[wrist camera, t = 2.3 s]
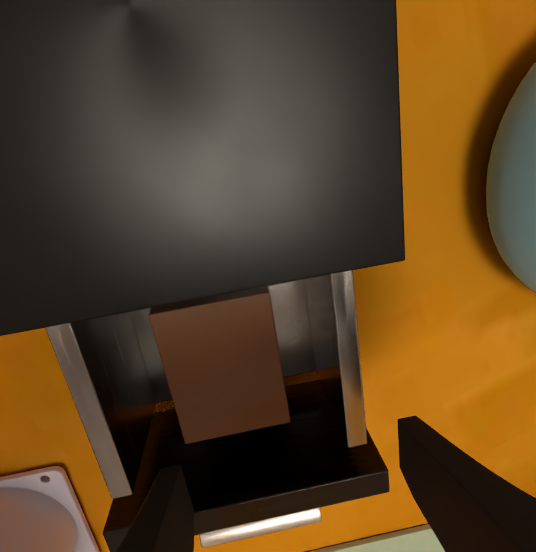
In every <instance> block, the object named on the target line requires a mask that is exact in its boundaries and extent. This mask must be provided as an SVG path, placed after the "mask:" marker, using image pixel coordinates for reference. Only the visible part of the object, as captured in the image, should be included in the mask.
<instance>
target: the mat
mask: <svg viewBox="0 0 536 552" xmlns="http://www.w3.org/2000/svg"><path fill="white" fill-rule="evenodd" d="M309 552H445V550H444V549H443V547H442V545H441V544H440V542H439V540H438V539H437V537H436V535H435V534H434V532H433V530H432V528H431V527H430V525H429V524H426V525H422V526H417V527H413V528H409V529H404V530H400V531H396V532H391V533H387V534H383V535H378V536H374V537H370V538H365V539H361V540H357V541H352V542H348V543H343V544H339V545H335V546H330V547H326V548H322V549H317V550H313V551H309Z"/></svg>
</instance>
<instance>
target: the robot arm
mask: <svg viewBox="0 0 536 552" xmlns="http://www.w3.org/2000/svg"><path fill="white" fill-rule="evenodd" d="M398 437H399V460H400V469H401V471H402V473H403V475H404V478H405V480H406V482H407V484H408V487H409V489H410V491H411V493H412V495H413V497H414V499H415V501H416V503H417V505H418V506H419V508H420V510H421V511H422V513H423V515H424V517H425V518H426V520H427V522H428V523H429V525H430V527H431V528H432V530H433V532H434V534H435V535H436V537H437V539H438V540H439V542H440V544H441V545H442V547H443V549H444V550H445V552H536V498H534V497H532V496H531V495H529V494H527V493H525V492H524V491H522V490H520V489H519V488H517V487H515V486H514V485H512V484H510V483H509V482H507V481H506V480H504V479H503V478H501V477H499V476H498V475H496V474H495V473H493V472H492V471H490V470H489V469H487V468H486V467H484V466H483V465H481V464H480V463H479V462H477V461H476V460H474V459H473V458H471V457H470V456H469V455H467V454H466V453H464V452H463V451H462V450H460V449H459V448H458V447H456V446H455V445H454V444H452V443H451V442H450V441H448V440H447V439H446V438H444V437H443V436H442V435H440V434H439V433H438V432H436V431H435V430H434V429H432V428H431V427H430V426H429V425H427V424H426V423H425V422H423V421H422V420H421V419H419V418H418V417H417V416H411V417H406V418H402V419H398ZM45 476H48V477H45ZM193 550H194V509H193V506H192V503H191V499H190V496H189V492H188V489H187V485H186V482H185V478H184V475H183V472H182V468H181V465H175V466H171V467H166V468H161V470H160V471H159V472H158V474H157V477H156V479H155V481H154V483H153V485H152V487H151V489H150V491H149V493H148V495H147V497H146V499H145V500H144V502H143V504H142V506H141V508H140V510H139V512H138V514H137V515H136V517H135V519H134V521H133V523H132V525H131V526H130V528H129V530H128V532H127V534H126V535H125V537H124V539H123V540H122V542H121V544H120V545H119V547H118V549H117V550H116V552H193ZM0 552H100V551H99V548H98V546H97V544H96V541H95V539H94V537H93V534H92V532H91V530H90V527H89V525H88V523H87V520H86V518H85V516H84V514H83V511H82V509H81V507H80V504H79V502H78V500H77V497H76V495H75V493H74V490H73V488H72V486H71V483H70V481H69V479H68V476H67V474H66V472H65V470H64V469H63V468H62V467H60V466H51V467H46V468H42V469H37V470H32V471H27V472H22V473H18V474H13V475H8V476H3V477H0Z"/></svg>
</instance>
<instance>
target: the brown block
mask: <svg viewBox="0 0 536 552" xmlns="http://www.w3.org/2000/svg"><path fill="white" fill-rule="evenodd" d="M149 319H150V323H151V326H152V330H153V333H154V337H155V340H156V344H157V347H158V351H159V354H160V358H161V361H162V365H163V368H164V372H165V375H166V379H167V382H168V386H169V389H170V393H171V396H172V400H173V403H174V407H175V410H176V414H177V417H178V421H179V424H180V428H181V431H182V435H183V438H184V442H185V444H188V443H193V442H198V441H203V440H208V439H212V438H217V437H222V436H227V435H232V434H236V433H241V432H246V431H251V430H255V429H260V428H265V427H270V426H275V425H279V424H284V423H289V422H290V421H291V419H290V413H289V407H288V401H287V395H286V389H285V383H284V377H283V371H282V365H281V359H280V353H279V346H278V340H277V334H276V328H275V322H274V316H273V310H272V304H271V298H270V292H269V289H268V286H265V287H260V288H254V289H249V290H243V291H238V292H233V293H227V294H222V295H217V296H211V297H206V298H201V299H195V300H190V301H184V302H179V303H174V304H168V305H163V306H158V307H152V308H151V311H150V313H149Z"/></svg>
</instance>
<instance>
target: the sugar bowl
mask: <svg viewBox="0 0 536 552" xmlns="http://www.w3.org/2000/svg"><path fill="white" fill-rule="evenodd" d="M486 207H487V215H488V221H489V227H490V230H491V233H492V237H493V240H494V243H495V245H496V247H497V249H498V251H499V253H500V255H501V257H502V259H503V260H504V262H505V263H506V264H507V266H508V267H509V269H510V270H511V271H512V272H513V274H514V275H515V276H516V277H517V278H518V279H519V280H520V281H521V282H522V283H523V284H524V285H525V286H527V287H528V288H529V289H531V290H532V291H534V292H535V293H536V62H535V63H534V64H533V66H532V67H531V69H530V70H529V71H528V73H527V74H526V76H525V77H524V78H523V80H522V81H521V83H520V85H519V86H518V88H517V90H516V92H515V93H514V95H513V97H512V98H511V100H510V102H509V104H508V106H507V109H506V111H505V113H504V115H503V118H502V120H501V122H500V125H499V127H498V130H497V133H496V136H495V140H494V143H493V146H492V150H491V155H490V159H489V164H488V171H487V182H486Z"/></svg>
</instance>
